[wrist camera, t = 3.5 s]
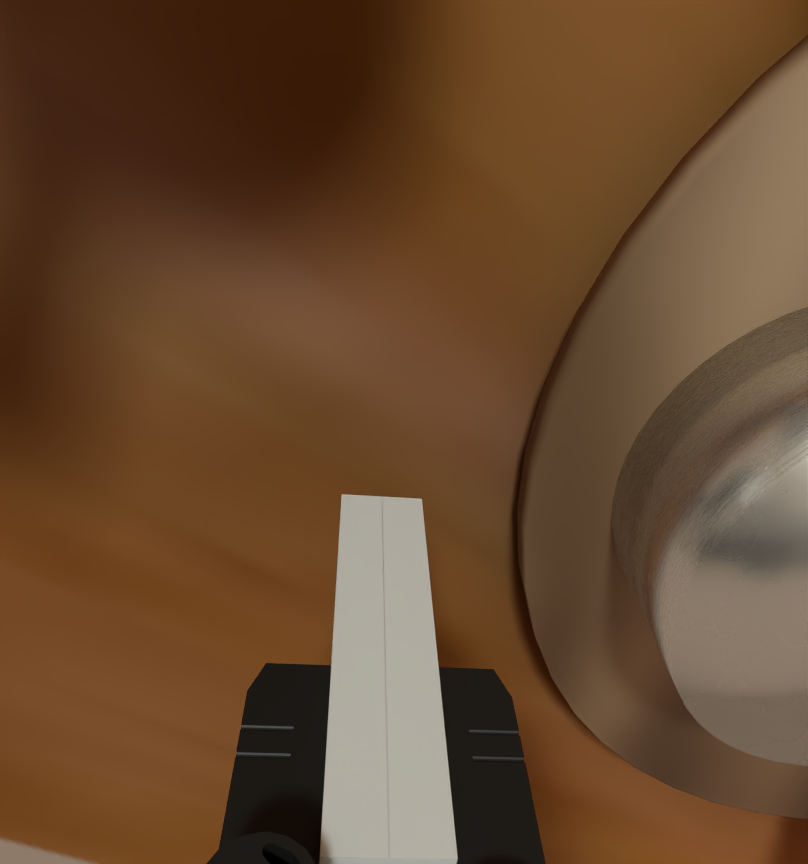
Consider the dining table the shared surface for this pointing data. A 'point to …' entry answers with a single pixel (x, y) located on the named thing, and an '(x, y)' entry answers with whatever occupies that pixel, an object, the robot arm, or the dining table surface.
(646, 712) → the turntable
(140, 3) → the dining table surface
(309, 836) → the robot arm
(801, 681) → the cover
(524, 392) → the dining table surface
